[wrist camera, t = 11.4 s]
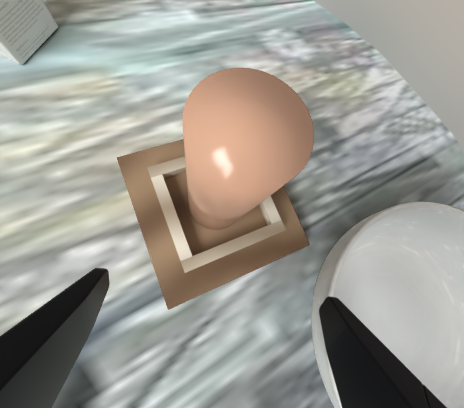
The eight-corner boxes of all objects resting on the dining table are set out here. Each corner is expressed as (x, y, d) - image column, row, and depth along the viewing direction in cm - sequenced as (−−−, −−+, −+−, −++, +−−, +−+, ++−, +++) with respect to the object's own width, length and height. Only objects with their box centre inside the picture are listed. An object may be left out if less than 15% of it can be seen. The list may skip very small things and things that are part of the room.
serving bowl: (387, 499, 19) (489, 628, 13) (242, 298, 21) (265, 318, 14) (498, 328, 25) (609, 355, 18) (376, 180, 26) (438, 155, 20)
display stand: (302, 245, 23) (316, 244, 20) (170, 305, 19) (166, 313, 17) (250, 127, 25) (257, 113, 22) (121, 164, 21) (112, 151, 19)
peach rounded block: (250, 218, 21) (335, 165, 8) (200, 238, 20) (213, 210, 7) (230, 171, 22) (281, 57, 9) (180, 187, 20) (162, 82, 8)
